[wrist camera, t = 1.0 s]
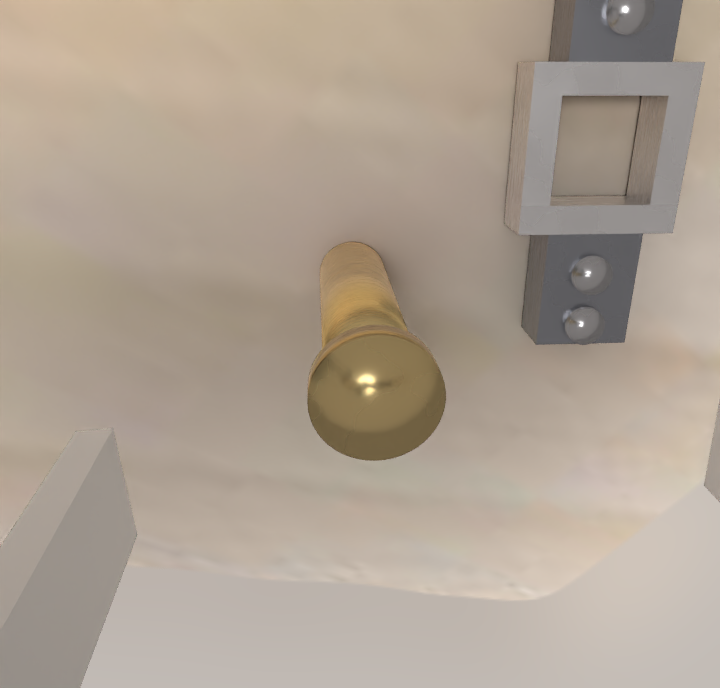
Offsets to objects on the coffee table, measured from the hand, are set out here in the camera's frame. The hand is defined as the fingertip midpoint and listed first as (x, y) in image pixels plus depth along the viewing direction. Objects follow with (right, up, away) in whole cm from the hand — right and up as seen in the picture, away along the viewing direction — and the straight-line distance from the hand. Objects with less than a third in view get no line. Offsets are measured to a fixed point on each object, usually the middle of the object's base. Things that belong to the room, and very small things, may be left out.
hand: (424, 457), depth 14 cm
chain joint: (+9, +12, +16) cm, 22 cm away
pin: (-2, +6, +18) cm, 19 cm away
